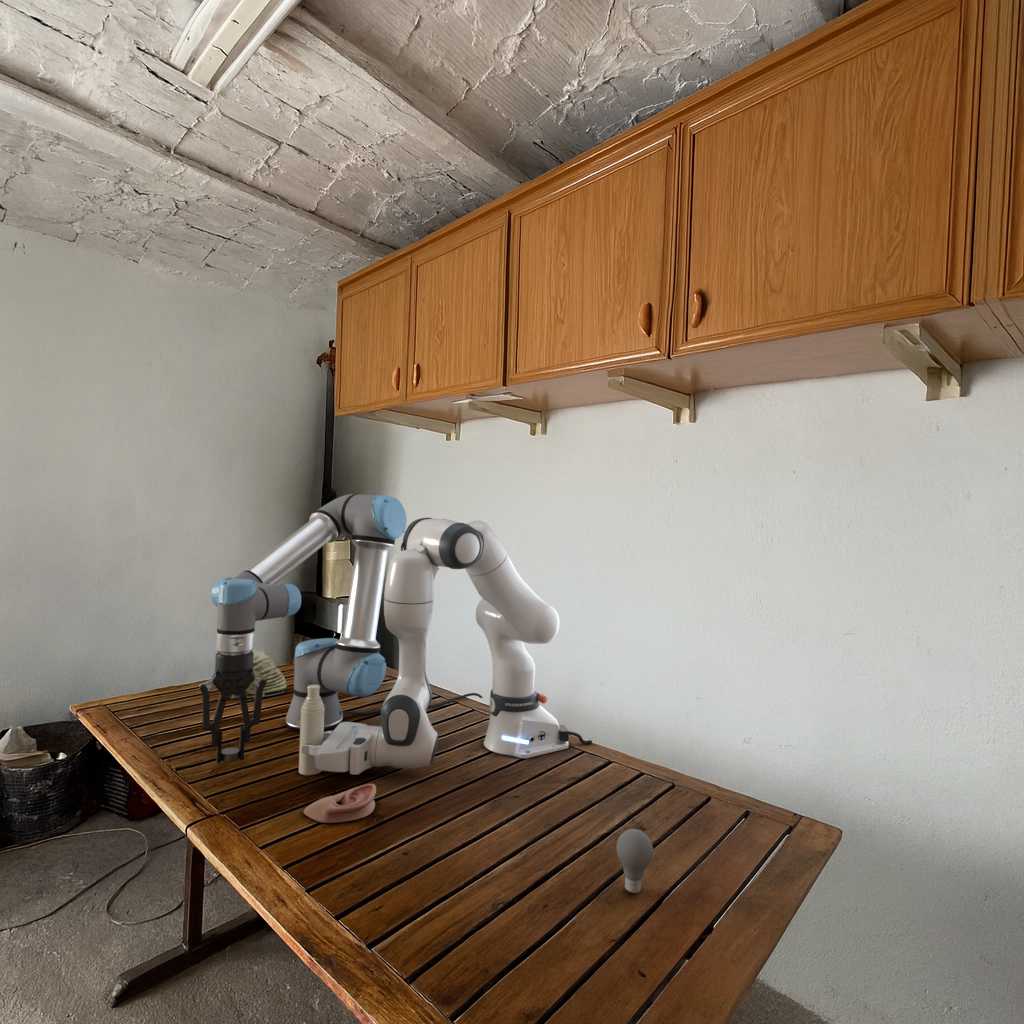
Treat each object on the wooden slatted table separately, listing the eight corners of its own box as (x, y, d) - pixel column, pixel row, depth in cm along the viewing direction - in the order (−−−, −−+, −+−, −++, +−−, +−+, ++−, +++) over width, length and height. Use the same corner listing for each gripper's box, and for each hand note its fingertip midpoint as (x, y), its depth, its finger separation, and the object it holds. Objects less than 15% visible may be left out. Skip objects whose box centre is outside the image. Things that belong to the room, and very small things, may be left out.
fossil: (218, 695, 195) (220, 647, 195) (278, 685, 208) (279, 640, 207) (228, 703, 189) (230, 653, 188) (289, 692, 201) (290, 645, 201)
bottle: (318, 763, 150) (321, 681, 150) (325, 772, 145) (328, 687, 145) (295, 768, 147) (299, 684, 147) (302, 777, 143) (305, 690, 142)
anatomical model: (295, 798, 124) (324, 774, 135) (295, 818, 124) (324, 792, 135) (358, 808, 121) (383, 782, 132) (358, 828, 121) (382, 801, 133)
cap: (216, 761, 135) (217, 753, 135) (226, 754, 139) (226, 746, 139) (234, 762, 135) (234, 754, 135) (242, 755, 139) (243, 748, 139)
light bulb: (610, 879, 108) (613, 822, 108) (644, 879, 109) (647, 822, 109) (619, 902, 102) (622, 840, 102) (655, 901, 103) (658, 840, 103)
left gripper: (192, 658, 129) (186, 772, 130) (278, 652, 138) (273, 759, 138) (190, 650, 136) (185, 758, 136) (273, 645, 144) (268, 747, 144)
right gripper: (378, 716, 156) (322, 713, 156) (356, 749, 136) (292, 745, 136) (377, 742, 156) (321, 739, 157) (354, 778, 136) (291, 775, 136)
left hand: (229, 758), depth 137 cm, fingers closed on cap, 4 cm apart
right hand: (307, 742), depth 146 cm, fingers closed on bottle, 5 cm apart
